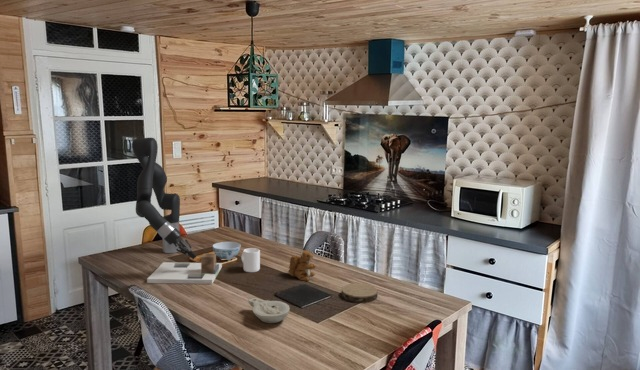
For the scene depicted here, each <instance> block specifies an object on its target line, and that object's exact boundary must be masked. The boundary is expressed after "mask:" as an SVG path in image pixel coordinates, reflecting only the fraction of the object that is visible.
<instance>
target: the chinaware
mask: <svg viewBox="0 0 640 370" xmlns="http://www.w3.org/2000/svg"><path fill="white" fill-rule="evenodd" d="M241 247H242V245H241V243H239V242H236V241H221V242H216V243H214V244H212V250H213V253H214V254H216V257H217V258H219V259H220V260H221V259H226V260H230V259H233V260H234V258H235V257H236V256H237V255H238V254H239V253H240V250H241ZM230 261H231V260H230Z"/></svg>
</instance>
